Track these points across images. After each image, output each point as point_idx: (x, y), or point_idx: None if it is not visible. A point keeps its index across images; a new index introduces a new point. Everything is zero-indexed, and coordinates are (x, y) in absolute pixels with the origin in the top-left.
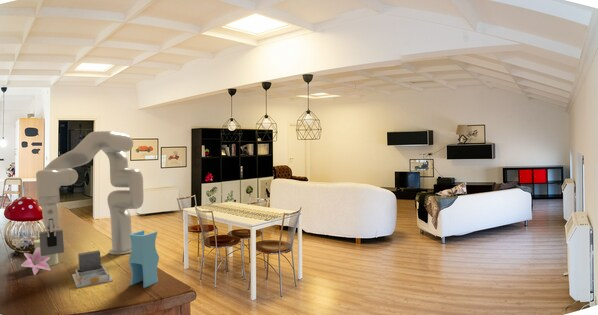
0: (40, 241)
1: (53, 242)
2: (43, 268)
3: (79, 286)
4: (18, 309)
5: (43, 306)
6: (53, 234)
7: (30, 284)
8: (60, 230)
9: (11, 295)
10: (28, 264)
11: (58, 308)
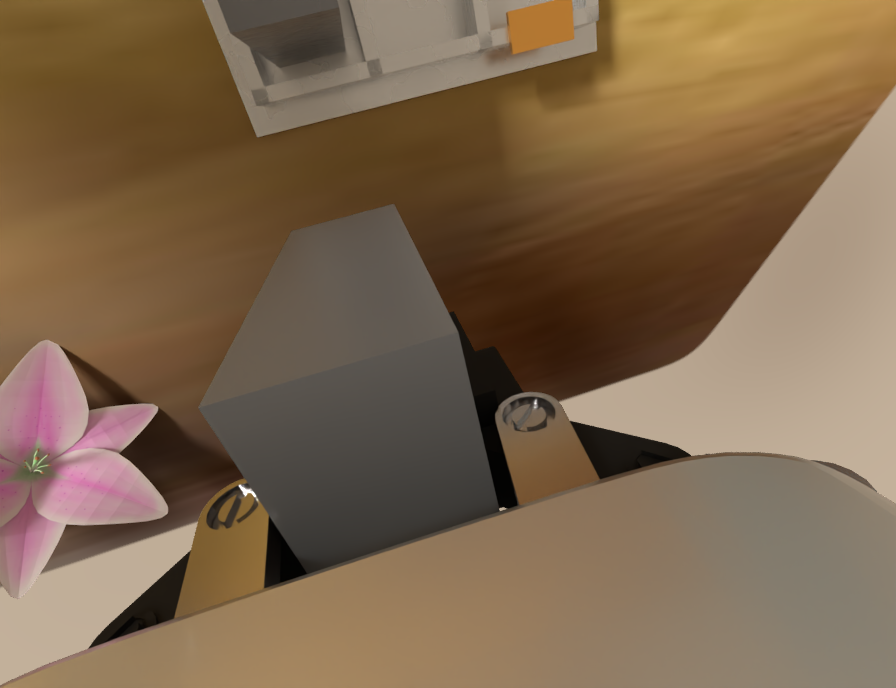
0: None
1: (504, 366)
2: (74, 387)
3: (593, 28)
4: (731, 306)
5: (775, 203)
6: (618, 440)
7: None
8: (401, 396)
9: None
10: (118, 487)
11: (861, 117)
